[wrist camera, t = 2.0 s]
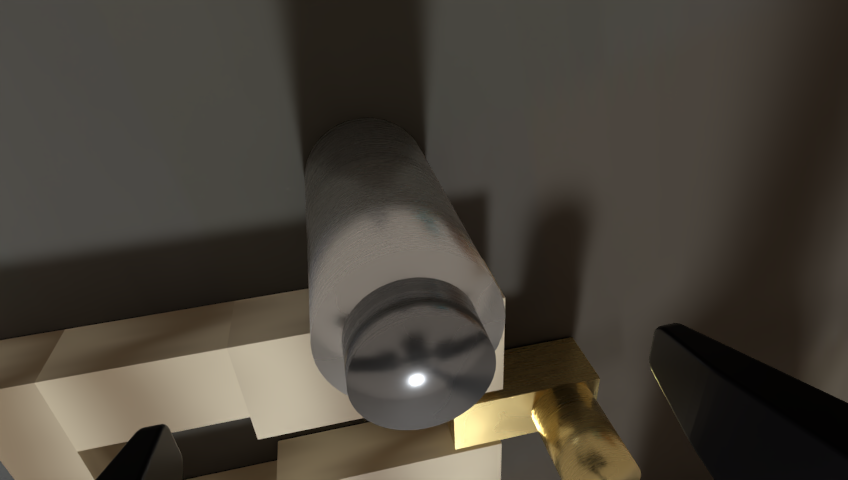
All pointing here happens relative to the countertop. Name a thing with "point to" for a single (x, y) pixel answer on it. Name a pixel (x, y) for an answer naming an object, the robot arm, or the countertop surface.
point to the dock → (207, 398)
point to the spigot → (395, 281)
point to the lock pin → (550, 413)
